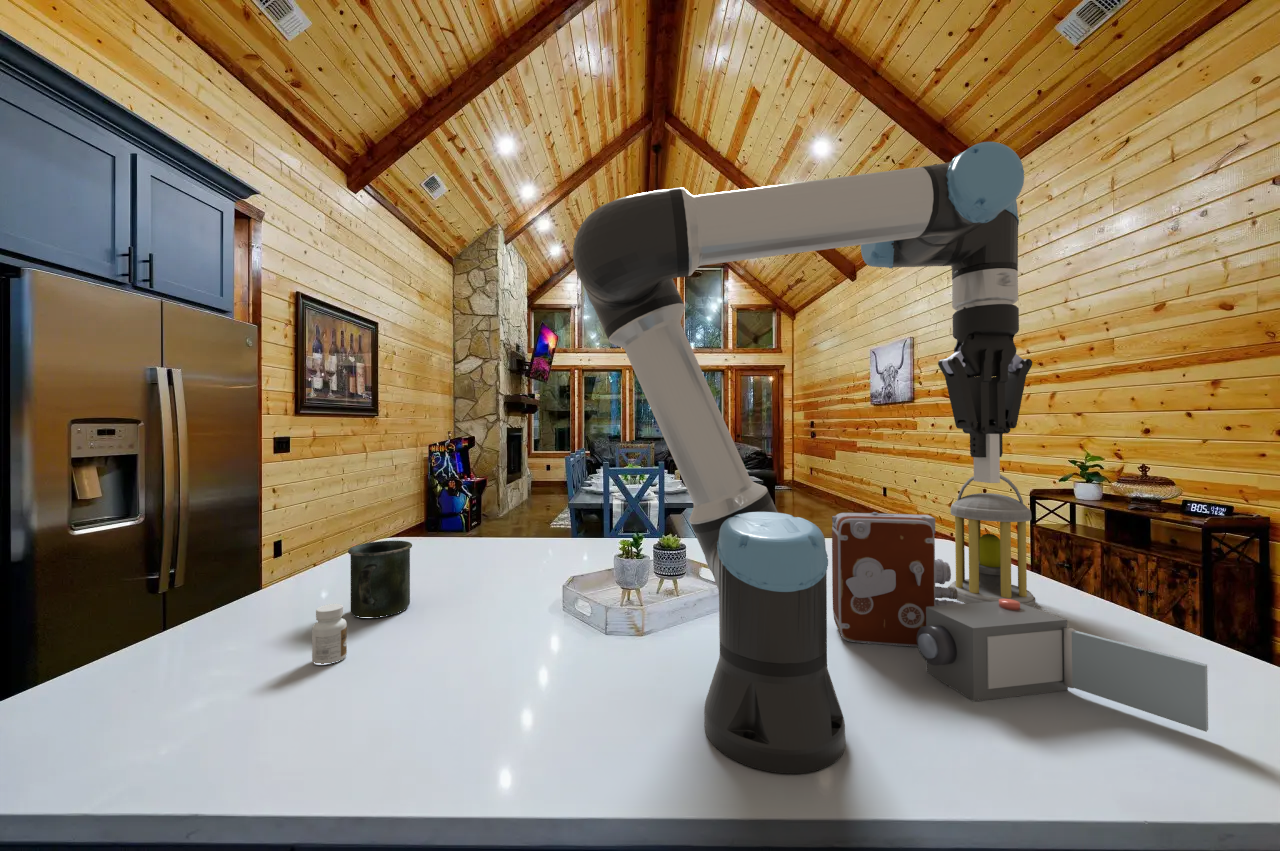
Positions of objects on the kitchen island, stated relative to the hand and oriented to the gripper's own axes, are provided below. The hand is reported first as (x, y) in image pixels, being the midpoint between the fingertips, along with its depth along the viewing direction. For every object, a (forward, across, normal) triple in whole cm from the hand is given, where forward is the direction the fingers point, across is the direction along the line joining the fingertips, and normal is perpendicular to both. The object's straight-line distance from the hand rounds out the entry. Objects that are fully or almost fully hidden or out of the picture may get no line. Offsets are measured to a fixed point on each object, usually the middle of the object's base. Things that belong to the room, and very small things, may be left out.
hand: (986, 481), depth 71 cm
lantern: (+27, +28, +28) cm, 48 cm away
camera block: (+26, -1, -1) cm, 26 cm away
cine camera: (+27, -3, +14) cm, 30 cm away
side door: (+26, +9, -11) cm, 29 cm away
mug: (+27, -89, +44) cm, 103 cm away
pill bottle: (+27, -90, +24) cm, 97 cm away
